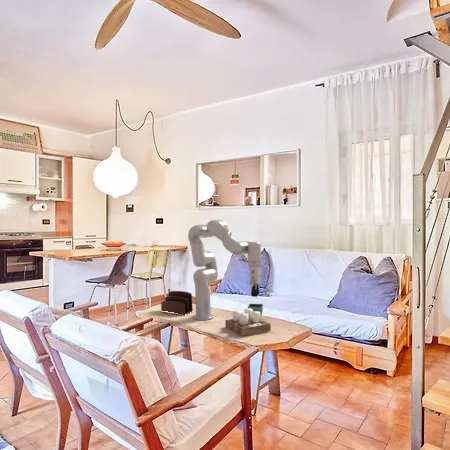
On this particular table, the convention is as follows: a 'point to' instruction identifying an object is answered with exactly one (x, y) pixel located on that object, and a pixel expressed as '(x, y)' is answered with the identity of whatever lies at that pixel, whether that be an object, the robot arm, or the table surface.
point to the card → (255, 325)
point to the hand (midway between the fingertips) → (255, 295)
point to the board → (247, 327)
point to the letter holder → (178, 302)
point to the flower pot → (256, 308)
